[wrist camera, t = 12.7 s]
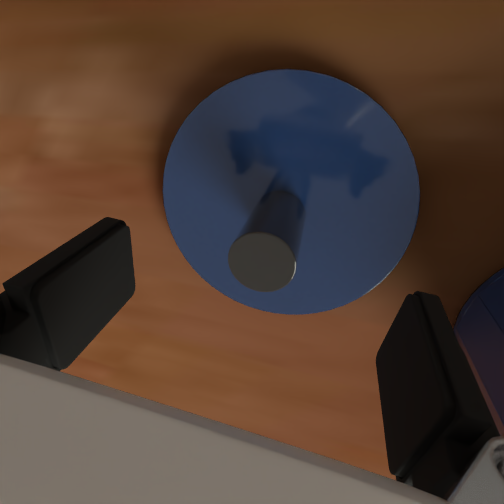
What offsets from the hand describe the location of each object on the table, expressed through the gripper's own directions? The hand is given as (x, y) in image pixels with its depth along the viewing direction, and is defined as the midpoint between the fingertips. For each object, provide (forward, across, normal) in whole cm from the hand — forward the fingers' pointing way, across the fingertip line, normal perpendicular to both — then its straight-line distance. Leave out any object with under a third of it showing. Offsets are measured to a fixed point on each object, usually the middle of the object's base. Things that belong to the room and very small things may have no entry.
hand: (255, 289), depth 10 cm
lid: (+9, 0, +1) cm, 9 cm away
